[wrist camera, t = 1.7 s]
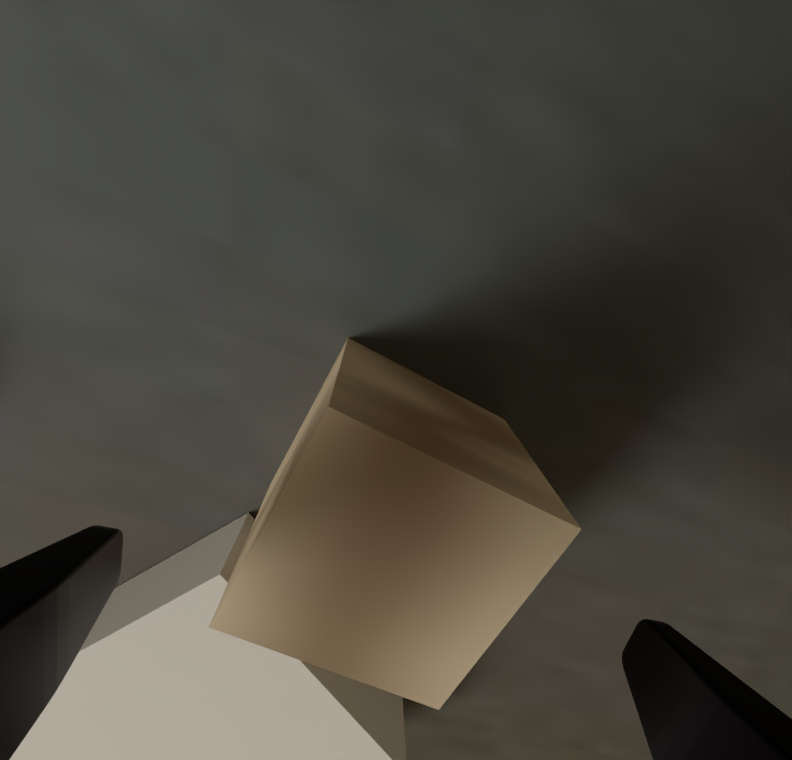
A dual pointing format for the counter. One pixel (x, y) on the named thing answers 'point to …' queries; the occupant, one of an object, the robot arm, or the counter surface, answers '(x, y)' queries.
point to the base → (203, 682)
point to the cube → (394, 534)
